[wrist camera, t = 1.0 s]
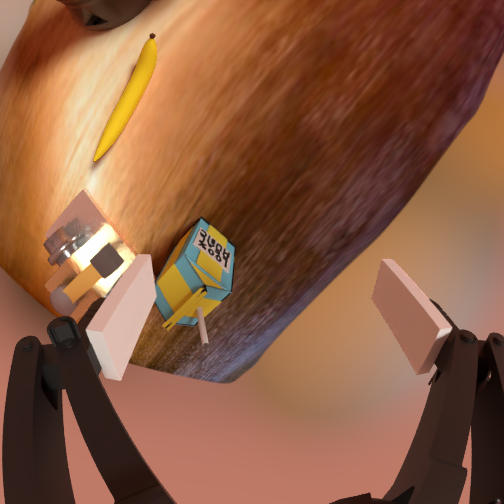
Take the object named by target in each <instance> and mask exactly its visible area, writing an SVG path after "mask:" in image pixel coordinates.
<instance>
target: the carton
mask: <svg viewBox="0 0 504 504" xmlns="http://www.w3.org/2000/svg"><path fill="white" fill-rule="evenodd" d="M235 252H236V246H235V245H234V244H233V243H232V242H230V241H229V240H228V239H227V238H226V237H225V236H224V235H222V234H221V233H220V232H219V231H218V230H217V229H216V228H214V227H213V226H212V225H211V224H210V223H209V222H208V221H206V220H205V219H204V218H203V217H201V218H200V219H199V220H198V221H197V222H196V223H195V224H194V225H193V227H192V228H191V229H190V230H189V231H188V232H187V233H186V234H185V235H184V237H183V238H182V239H181V240H180V241H179V242H178V243H177V244H176V245H175V247H174V248H173V250H172V251H171V253H170V255H169V256H168V258H167V260H166V262H165V263H164V265H163V267H162V269H161V271H160V272H159V274H158V276H157V278H156V280H155V281H154V283H155V289H156V295H157V297H156V299H155V301H154V303H155V304H156V306H157V308H158V310H159V311H160V313H161V315H162V316H163V318H164V320H165V323H164V324H163V325H162V327H165V328H166V329H167V330H170V329H171V328H172V327H173V326H174V325H175V324H176V325H185V326H195V325H196V324H197V323H198V324H199V330H200V335H201V340H202V345H206V344H209V343H208V338H207V332H206V327H205V322H204V317H205V316H206V315H207V314H209V313H210V312H211V311H212V310H213V309H214V308H215V307H216V306H217V305H219V304H220V303H221V302H222V301H223V300H224V299H225V298H226V297H227V296H229V295H230V294H231V293H232V287H233V275H234V263H235Z"/></svg>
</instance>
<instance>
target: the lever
mask: <svg viewBox="0 0 504 504" xmlns="http://www.w3.org/2000/svg"><path fill="white" fill-rule="evenodd" d="M89 262H90V264H89V265H88V266H87V267H86V268H85V269H84V270H83V271H82V272H81V273H80V274H79V275H78V276H77V277H76V278H75V279H74V280H73V281H72V282H71V283H70V284H69V285H66V284H60V285H58V286H57V288H56V289H55V290H54V291H53V292H52V293H51V295H50V301H51V304H52V306H53V307H54V309H55V310H56V311H57V312H58V313H60V314H61V315H64V316H70V315H71V314H72V313H73V312H74V310H75V309H76V308H77V307H78V305H79V298H80V297H81V296H82V295H83V294H84V293H85V292H87V291H88V290H89V289H90V288H91V287H92V286H93V285H95V284H96V283H97V282H98V281H99V280H100V279H101V278H104V280H105V279H107V278H108V277H109V276H110V275H111V274H112V273H114V272H115V271H116V270H117V269H119V267H120V266H121V265H122V264H123V263H124V260H123V258H122V257H121V256H120V255H119V254H118V252H117V251H116V250H115V249H114V247H113V246H112V245H111V244H110V243H109V242H108V243H107V244H106V245H105V246H104V247H103V248H102V249H101V250H100V251H98V252H97V253H96V254H95V255H94V256H93V257H92V258H91V259H90V260H89Z"/></svg>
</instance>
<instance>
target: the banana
mask: <svg viewBox="0 0 504 504" xmlns="http://www.w3.org/2000/svg"><path fill="white" fill-rule="evenodd" d="M154 37H155V34H153V33H152V34H150V38H149V40H148V41H147V42H146V43H145V45H144V47H143V49H142V51H141V54H140V56H139V59H138V62H137V65H136V68H135V70H134V72H133V74H132V77H131V79H130V81H129V83H128V85H127V86H126V88H125V90H124V92H123V94H122V96H121V98H120V100H119V102H118V104H117V105H116V107H115V109H114V111H113V113H112V115H111V117H110V119H109V121H108V123H107V125H106V127H105V130H104V132H103V134H102V137H101V139H100V142H99V145H98V147H97V150H96V153H95V156H94V159H93V162H95V161H97V160H98V159H99V158H100V157H102V155H103V154H104V153H105V152H106V151H107V150H108V149H109V148H110V147H111V146H112V144H113V143H114V142H115V141H116V139H117V138H118V136H119V135H120V134H121V132H122V131H123V129H124V127H125V126H126V124H127V122H128V121H129V119H130V117H131V115H132V114H133V112H134V110H135V108H136V107H137V105H138V103H139V101H140V99H141V97H142V96H143V94H144V92H145V90H146V88H147V86H148V84H149V81H150V79H151V77H152V74H153V72H154V69H155V65H156V60H157V47H156V43H155V40H154Z"/></svg>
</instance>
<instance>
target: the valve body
mask: <svg viewBox="0 0 504 504" xmlns="http://www.w3.org/2000/svg"><path fill="white" fill-rule="evenodd" d="M45 235H46V237H47V238H48V239H47V240H46V241H45V243H44V245H43V246H44V247H45V248H46V250H47V251H48V252H49V254H50V255H51V256H50V257H49V258H48V262H49V263H50V264H51V265H52V266H53V265H54V264H56V263H57V264H58V265H59V267H60V268H59V269H58V270H57V271H56V272H55V273H54V274H53V276H52V277H51V278H50V279H49V280H48V281H47V283H46V284H45V285H44V286H45V287H46V289H47V290H48V291H49V292H50V293H52V292H53V291H54V290H55V289H56V288H57V286H58V285H60V284H66V285H69V284H70V283H71V282H72V281H73V280H74V279H75V278H76V277H77V276H78V275H79V274H80V273H81V272H82V271H83V270H84V269H85V268H86V267H87V266H88V265H89V264H90V262H89V260H90V259H91V258H92V257H93V256H94V255H95V254H96V253H97V252H98V251H100V250H101V249H102V248H103V247H104V246H105V245H106V244H107V243H108V242H109V243H110V244H111V245H112V246H113V247H114V249H115V250H116V251H117V252H118V254H119V255H120V256H121V257H122V258H123V260H124V263H123V264H122V265H121V266H120V267H119V269H117V270H116V271H115V272H114V273H112V274H111V275H110V276H109V277H108V278H107V279H105V280H104V278H101V279H100V280H99V281H98V282H97V283H96V284H95V285H93V286H92V287H91V288H90V289H89V290H88V291H87V292H85V293H84V294H83V295H82V296H81V297H80V298H79V305H78V307H77V308H76V309H75V310H74V312H73V313H72V314H71V315H70V316H71V317H72V318H73V319H74V320H75V321H77V320H78V319H80V318H81V317H82V316H83V315H84V314H85V313H86V311H88V308H89V307H90V306H91V304H92V303H93V302H94V301H96V300H97V299H98V298H100V297H103V298H107V297H108V295H109V294H110V292H111V291H112V289H113V288H114V286H115V285H116V284H117V282H118V281H119V279H120V278H121V277H122V275H123V274H124V273H125V271H126V270H127V268H128V267H129V266H130V264H131V263H132V262H133V260H134V259H135V258H136V256H137V255H138V254H137V253H136V252H135V250H134V249H133V248H132V247H131V246H130V244H129V243H128V242H127V241H126V239H125V238H124V237H123V236H122V234H121V233H120V232H119V231H118V229H117V228H116V227H115V226H114V224H113V223H112V222H111V220H110V219H109V218H108V217H107V215H106V214H105V213H104V211H103V210H102V209H101V207H100V206H99V205H98V203H97V202H96V201H95V199H94V198H93V197H92V195H91V194H90V193H89V191H88V190H87V188H84V189H83V190H82V191H81V192H80V193H79V194H78V195H77V196H76V197H75V199H74V200H73V201H72V202H71V203H70V204H69V205H68V207H67V208H66V209H65V210H64V211H63V213H62V214H61V215H60V216H59V217H58V219H57V220H56V221H55V222H54V224H53V225H52V226H51V227H50V229H49V230H48V231H47V232H46V234H45ZM153 276H154V281H155V280H156V278H157V276H156V275H155V274H154V273H153Z"/></svg>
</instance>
